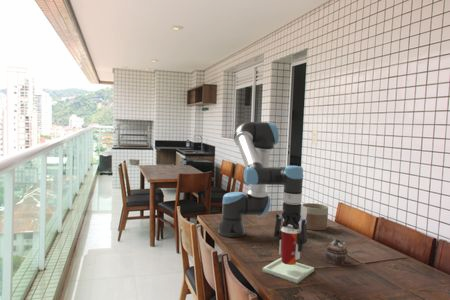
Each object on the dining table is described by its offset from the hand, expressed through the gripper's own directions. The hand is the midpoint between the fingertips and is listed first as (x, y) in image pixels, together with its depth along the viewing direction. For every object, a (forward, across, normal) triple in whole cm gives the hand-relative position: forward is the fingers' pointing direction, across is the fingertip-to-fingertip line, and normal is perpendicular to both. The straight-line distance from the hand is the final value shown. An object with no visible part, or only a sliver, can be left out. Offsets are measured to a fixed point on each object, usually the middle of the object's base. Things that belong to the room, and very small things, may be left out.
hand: (289, 256), depth 144 cm
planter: (+7, -20, +73) cm, 76 cm away
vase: (+7, -25, +55) cm, 61 cm away
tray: (+7, 0, 0) cm, 7 cm away
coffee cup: (+3, 0, 0) cm, 3 cm away
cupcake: (+7, +11, +26) cm, 29 cm away
